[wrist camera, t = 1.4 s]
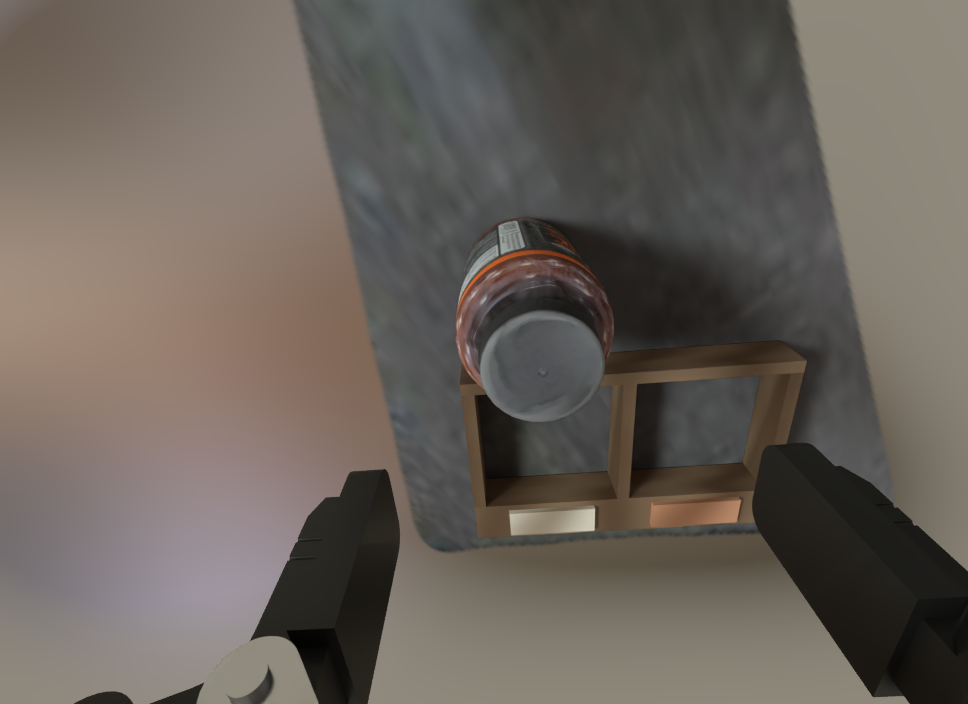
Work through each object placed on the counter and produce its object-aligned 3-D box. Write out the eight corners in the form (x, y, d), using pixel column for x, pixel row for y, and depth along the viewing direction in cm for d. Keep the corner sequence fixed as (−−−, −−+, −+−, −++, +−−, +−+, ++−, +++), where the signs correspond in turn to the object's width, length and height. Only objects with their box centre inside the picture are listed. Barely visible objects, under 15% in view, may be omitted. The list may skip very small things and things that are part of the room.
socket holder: (779, 340, 26) (810, 363, 24) (747, 493, 31) (770, 525, 29) (461, 363, 27) (459, 387, 25) (478, 509, 32) (478, 542, 30)
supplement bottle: (599, 275, 25) (677, 380, 15) (514, 343, 27) (532, 479, 16) (526, 188, 23) (560, 238, 13) (440, 268, 25) (409, 368, 15)
